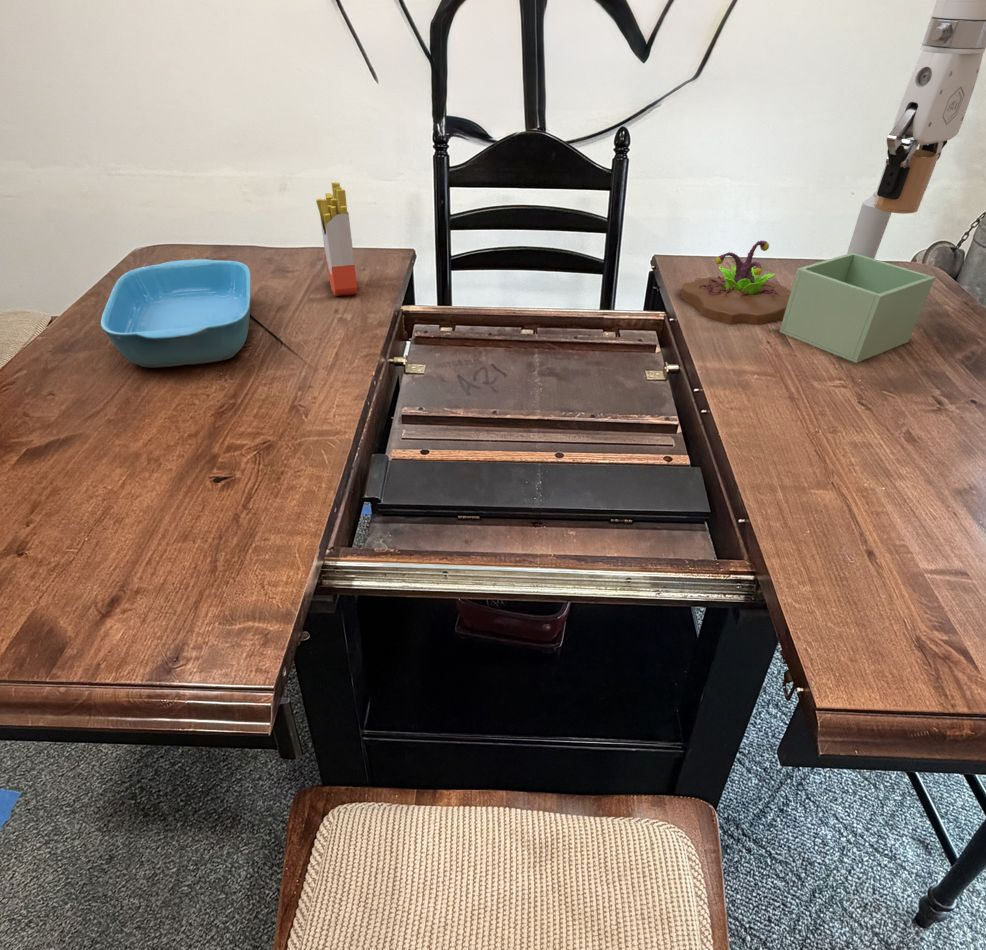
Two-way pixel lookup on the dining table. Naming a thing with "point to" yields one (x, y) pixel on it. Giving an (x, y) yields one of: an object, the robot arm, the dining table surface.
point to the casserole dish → (180, 312)
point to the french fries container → (338, 241)
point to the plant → (738, 293)
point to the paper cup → (911, 184)
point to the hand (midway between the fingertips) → (901, 192)
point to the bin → (855, 305)
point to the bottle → (869, 228)
